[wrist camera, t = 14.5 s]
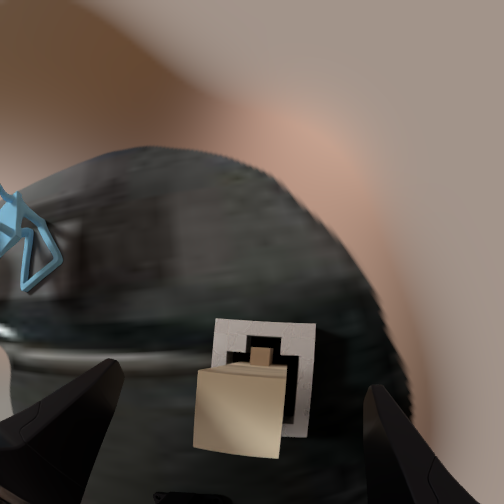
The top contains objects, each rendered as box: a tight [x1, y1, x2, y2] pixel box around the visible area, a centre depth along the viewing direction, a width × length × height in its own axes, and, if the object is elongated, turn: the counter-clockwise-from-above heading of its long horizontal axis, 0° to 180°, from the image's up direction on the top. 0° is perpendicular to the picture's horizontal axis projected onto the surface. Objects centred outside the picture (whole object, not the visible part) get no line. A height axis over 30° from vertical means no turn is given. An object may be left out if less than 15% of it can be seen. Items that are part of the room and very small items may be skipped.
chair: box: [0, 184, 63, 292], centre depth 22 cm, size 8×8×12 cm
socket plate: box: [211, 318, 316, 437], centre depth 19 cm, size 8×7×2 cm
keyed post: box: [193, 347, 287, 458], centre depth 15 cm, size 5×4×11 cm
